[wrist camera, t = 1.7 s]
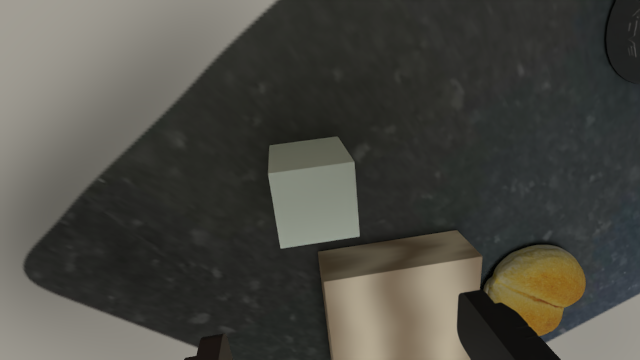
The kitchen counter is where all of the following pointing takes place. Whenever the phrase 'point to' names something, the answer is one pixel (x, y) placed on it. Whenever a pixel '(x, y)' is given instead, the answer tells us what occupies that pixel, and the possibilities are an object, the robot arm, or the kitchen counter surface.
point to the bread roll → (537, 284)
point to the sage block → (313, 191)
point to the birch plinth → (398, 297)
